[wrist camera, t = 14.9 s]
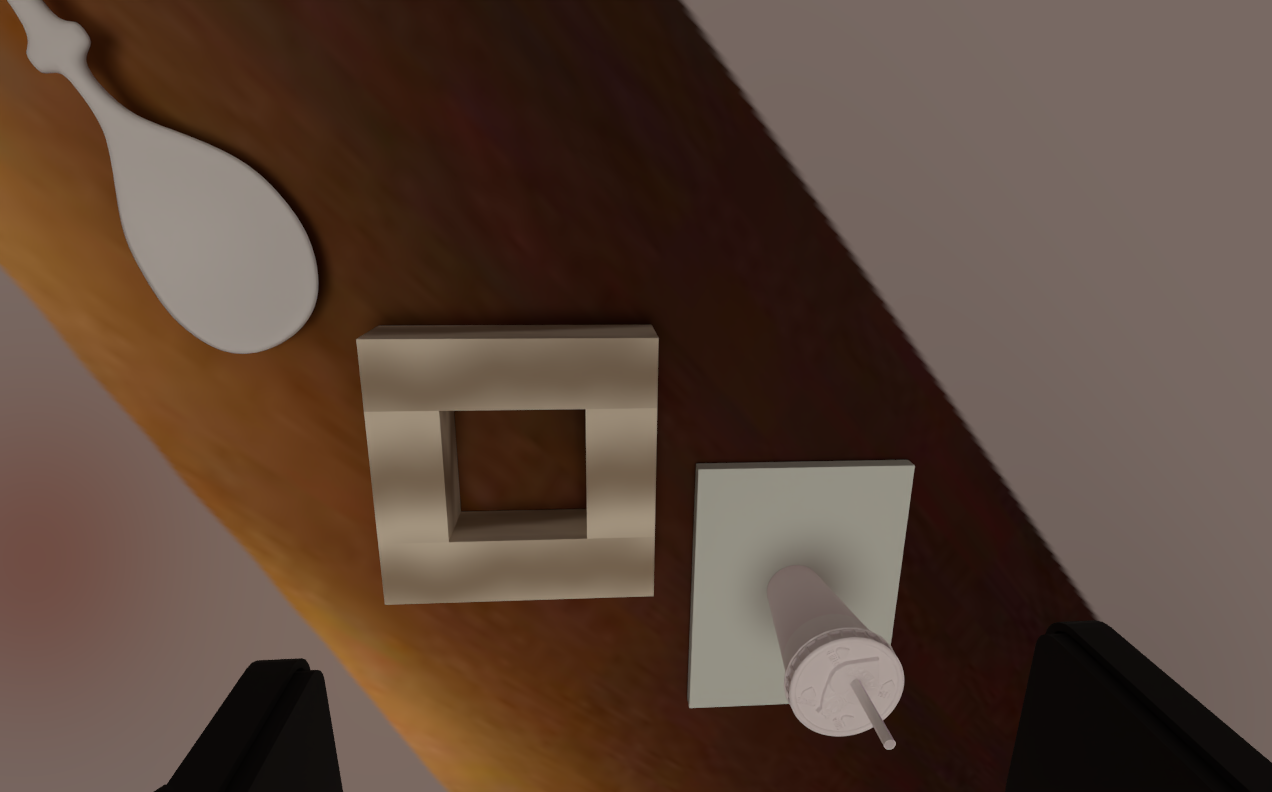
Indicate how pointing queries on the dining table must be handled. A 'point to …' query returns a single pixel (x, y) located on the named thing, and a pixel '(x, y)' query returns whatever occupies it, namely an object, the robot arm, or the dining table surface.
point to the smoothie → (831, 659)
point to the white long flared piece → (191, 212)
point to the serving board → (786, 561)
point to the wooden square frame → (518, 539)
